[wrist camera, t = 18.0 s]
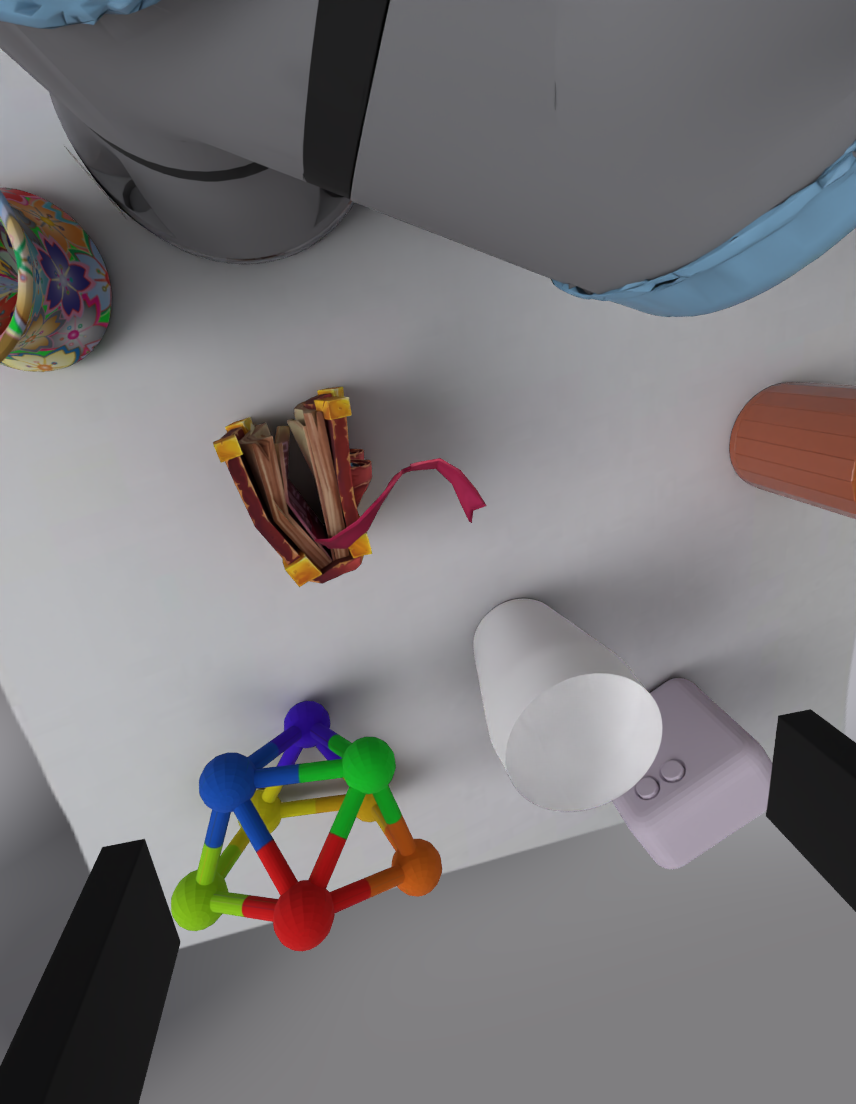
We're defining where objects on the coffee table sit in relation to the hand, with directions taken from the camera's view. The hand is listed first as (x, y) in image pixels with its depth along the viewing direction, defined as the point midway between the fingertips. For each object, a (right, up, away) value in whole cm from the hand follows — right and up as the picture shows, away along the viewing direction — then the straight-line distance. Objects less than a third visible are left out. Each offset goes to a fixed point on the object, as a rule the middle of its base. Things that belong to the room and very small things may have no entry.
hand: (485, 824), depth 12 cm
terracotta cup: (+23, +14, +28) cm, 38 cm away
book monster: (-6, +11, +24) cm, 27 cm away
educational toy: (-10, -8, +30) cm, 33 cm away
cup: (+5, -1, +30) cm, 30 cm away
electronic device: (+15, -8, +34) cm, 38 cm away
